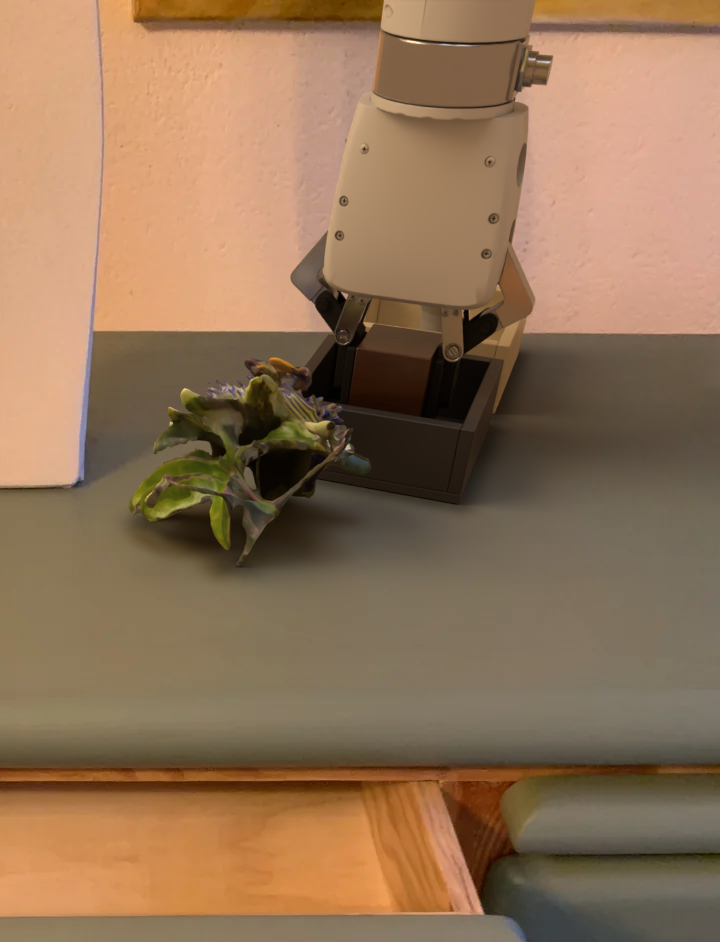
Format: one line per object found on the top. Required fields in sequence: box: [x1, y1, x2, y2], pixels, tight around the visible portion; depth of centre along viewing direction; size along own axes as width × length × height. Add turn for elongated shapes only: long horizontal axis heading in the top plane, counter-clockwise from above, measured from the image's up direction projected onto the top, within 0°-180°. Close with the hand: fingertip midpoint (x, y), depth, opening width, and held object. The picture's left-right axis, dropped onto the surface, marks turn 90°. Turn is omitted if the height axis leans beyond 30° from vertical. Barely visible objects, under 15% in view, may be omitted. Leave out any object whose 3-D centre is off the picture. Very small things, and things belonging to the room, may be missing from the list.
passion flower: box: [128, 357, 371, 567], centre depth 64 cm, size 11×11×12 cm
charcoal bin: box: [301, 333, 504, 505], centre depth 73 cm, size 12×12×5 cm
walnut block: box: [348, 324, 442, 417], centre depth 71 cm, size 4×4×4 cm
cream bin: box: [363, 286, 528, 415], centre depth 83 cm, size 12×12×5 cm
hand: (390, 406), depth 73 cm, fingers closed on walnut block, 4 cm apart
